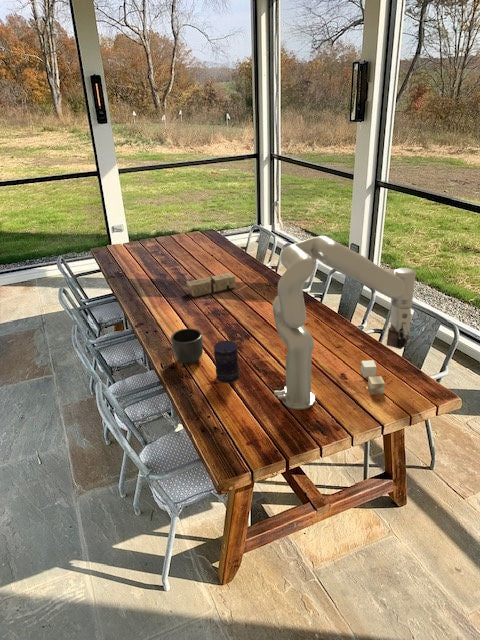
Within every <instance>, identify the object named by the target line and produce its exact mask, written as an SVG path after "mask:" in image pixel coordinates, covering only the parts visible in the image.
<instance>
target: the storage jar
mask: <svg viewBox="0 0 480 640" xmlns="http://www.w3.org/2000/svg"><path fill="white" fill-rule="evenodd" d="M213 353H214V354H213V355H214V359H215V374H216V379H217V381H219V382H220V383H223V384H231V383H234V382H236V381H237V380H238V379H239V378H240V368H239V364H238V357H239V355H238V353H239V351H238V344H237V343H236V342H234V341H232V340H221V341H218V342H216V343H215V344H214V346H213Z"/></svg>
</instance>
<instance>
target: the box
mask: <svg viewBox="0 0 480 640" xmlns="http://www.w3.org/2000/svg"><path fill="white" fill-rule="evenodd" d="M400 330H402V329H400ZM401 334H403V332H400V335H401ZM397 338H398V332H397V331H396V330H395V328H394V327H393V325H392V326H391V325H390V326H389V328H388V329H387V337H386V346H389V347H392V348H395V349H399V350H402V349H403V348H404V347H400V348H397V347H396V344H397ZM408 338H409V333H408V334H407V337H406V343H405V346H406V345H407V344H408Z"/></svg>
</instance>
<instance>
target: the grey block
mask: <svg viewBox="0 0 480 640" xmlns="http://www.w3.org/2000/svg"><path fill="white" fill-rule="evenodd" d="M360 365H361V366H360V372H361V374H362V377H363V378H369V377H375V376H377V365H376V362H375V360H371V359H370V360H361V362H360Z"/></svg>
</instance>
